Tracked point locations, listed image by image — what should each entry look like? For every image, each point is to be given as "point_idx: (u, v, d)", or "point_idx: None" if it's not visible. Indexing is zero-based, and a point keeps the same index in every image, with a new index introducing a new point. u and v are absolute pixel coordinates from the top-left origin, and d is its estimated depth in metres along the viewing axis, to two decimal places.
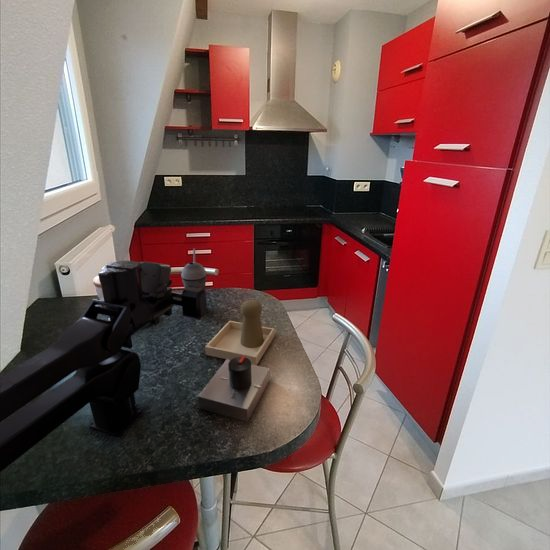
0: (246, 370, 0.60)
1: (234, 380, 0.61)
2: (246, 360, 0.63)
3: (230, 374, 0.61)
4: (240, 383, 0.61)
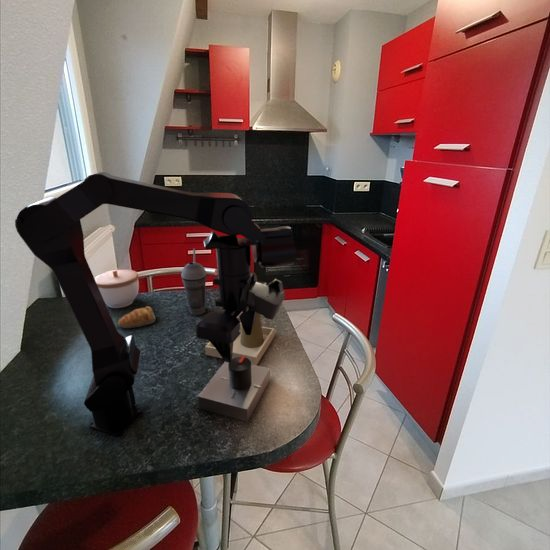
0: (246, 370, 0.60)
1: (234, 380, 0.61)
2: (246, 360, 0.63)
3: (230, 374, 0.61)
4: (240, 383, 0.61)
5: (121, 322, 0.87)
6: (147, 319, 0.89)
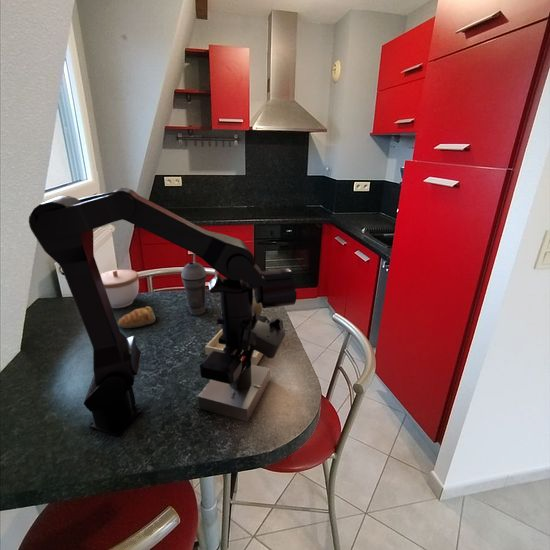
0: (246, 370, 0.60)
1: None
2: (246, 360, 0.63)
3: None
4: (240, 383, 0.61)
5: (121, 322, 0.87)
6: (147, 319, 0.89)
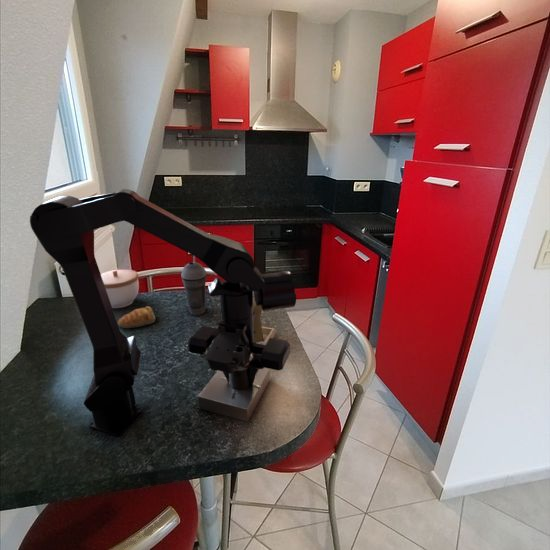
0: None
1: None
2: (244, 367, 0.61)
3: None
4: None
5: (121, 322, 0.87)
6: (147, 319, 0.89)
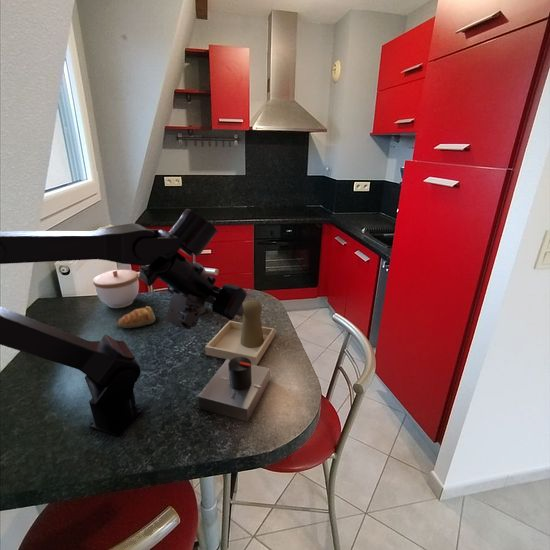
0: (230, 369, 0.61)
1: None
2: (244, 367, 0.61)
3: None
4: None
5: (121, 322, 0.87)
6: (147, 319, 0.89)
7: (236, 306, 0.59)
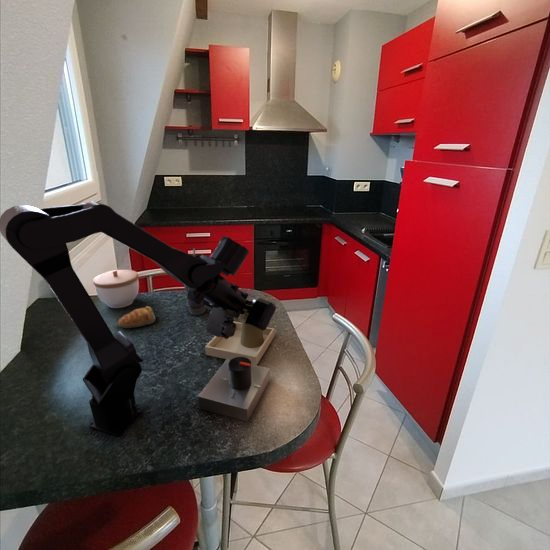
0: (230, 369, 0.61)
1: None
2: (244, 367, 0.61)
3: None
4: None
5: (121, 322, 0.87)
6: (147, 319, 0.89)
7: (268, 318, 0.68)
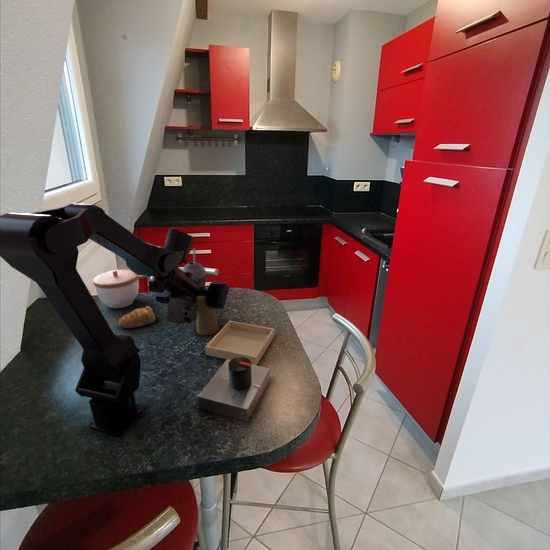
0: (230, 369, 0.61)
1: None
2: (244, 367, 0.61)
3: None
4: None
5: (121, 322, 0.87)
6: (147, 319, 0.89)
7: (224, 297, 0.76)
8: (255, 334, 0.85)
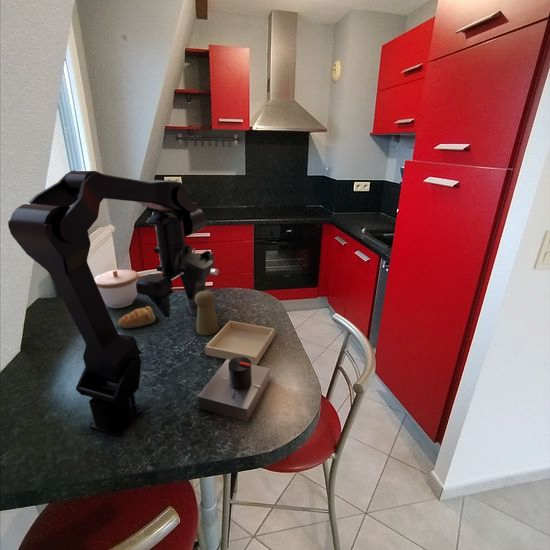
0: (230, 369, 0.61)
1: None
2: (244, 367, 0.61)
3: None
4: None
5: (121, 322, 0.87)
6: (147, 318, 0.89)
7: None
8: (255, 334, 0.85)
